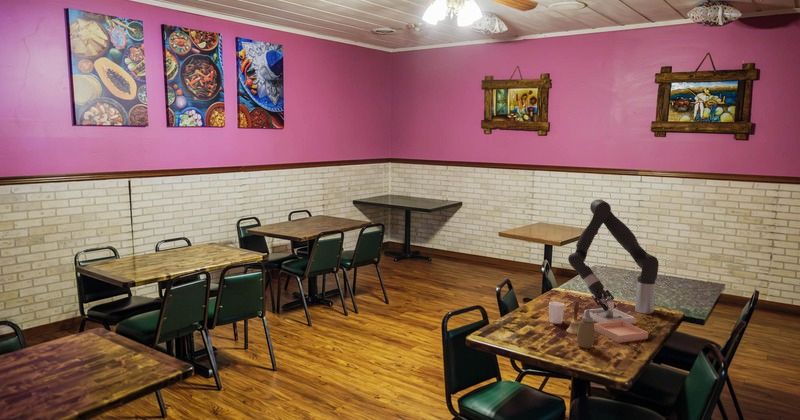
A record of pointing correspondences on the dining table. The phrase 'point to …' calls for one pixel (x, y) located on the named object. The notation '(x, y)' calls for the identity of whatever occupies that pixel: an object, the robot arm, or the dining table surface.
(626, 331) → the terracotta bin
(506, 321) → the dining table surface
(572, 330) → the hand bell
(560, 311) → the white cup
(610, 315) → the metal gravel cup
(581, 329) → the squeeze bottle
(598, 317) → the bin
